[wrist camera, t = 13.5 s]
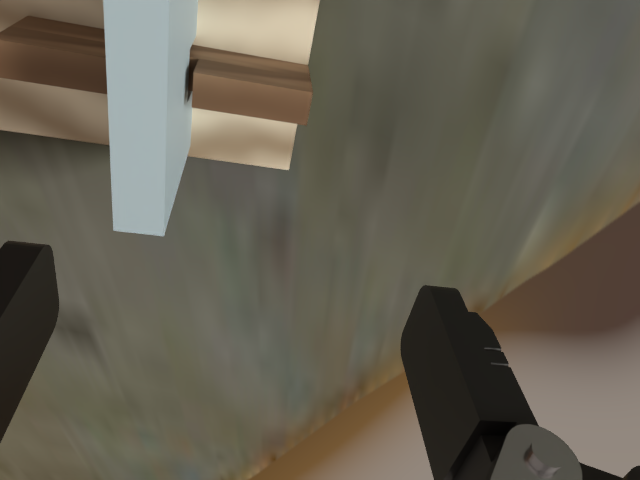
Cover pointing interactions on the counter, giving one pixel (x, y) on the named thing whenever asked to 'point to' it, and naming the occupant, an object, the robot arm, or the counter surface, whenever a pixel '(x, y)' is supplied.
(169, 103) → the slotted cross plate
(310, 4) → the birch board
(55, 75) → the walnut slotted plate
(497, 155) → the counter surface
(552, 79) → the counter surface
